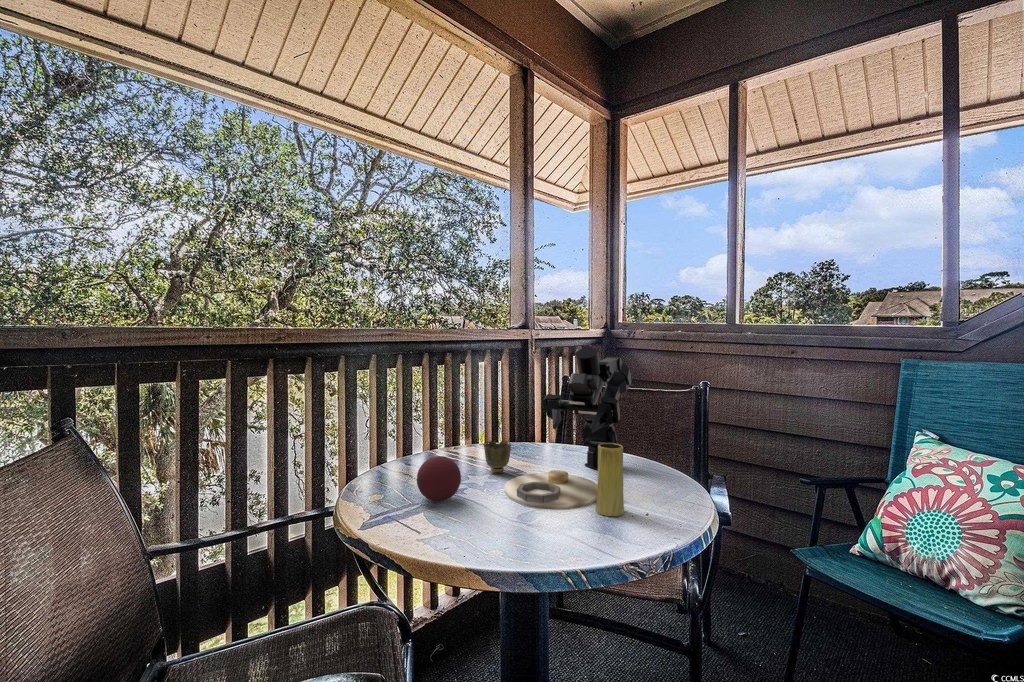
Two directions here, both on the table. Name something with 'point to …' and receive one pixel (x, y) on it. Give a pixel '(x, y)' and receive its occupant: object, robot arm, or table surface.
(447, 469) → the decorative ball
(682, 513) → the table surface
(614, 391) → the robot arm
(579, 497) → the disc
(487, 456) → the cup
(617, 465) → the vase
